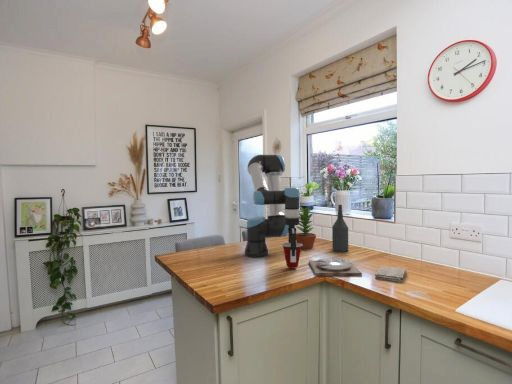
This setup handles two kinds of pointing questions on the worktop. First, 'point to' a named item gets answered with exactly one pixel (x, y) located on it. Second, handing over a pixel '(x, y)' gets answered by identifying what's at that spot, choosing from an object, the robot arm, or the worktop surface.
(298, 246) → the plastic cup
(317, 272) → the mount board
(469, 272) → the worktop surface
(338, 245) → the bottle
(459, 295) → the worktop surface
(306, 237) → the potted plant
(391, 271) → the washcloth
